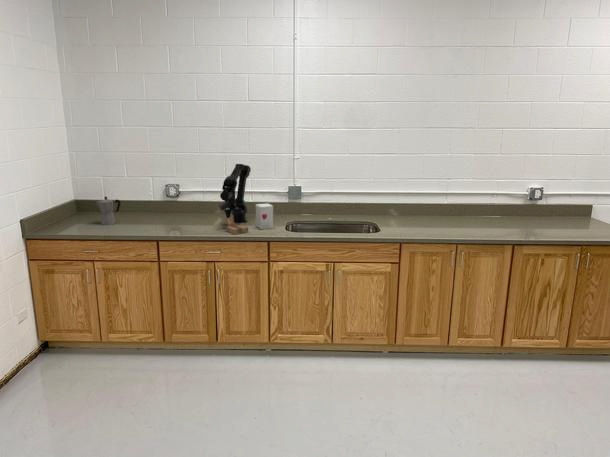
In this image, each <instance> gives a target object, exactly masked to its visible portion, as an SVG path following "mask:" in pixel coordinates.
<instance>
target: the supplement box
mask: <svg viewBox="0 0 610 457" xmlns="http://www.w3.org/2000/svg"><path fill="white" fill-rule="evenodd" d="M255 227H256V228H258V229H259V230H268V229H274V205H272V204H270V203H257V204H255Z"/></svg>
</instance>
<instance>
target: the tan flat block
mask: <svg viewBox="0 0 610 457" xmlns="http://www.w3.org/2000/svg"><path fill="white" fill-rule="evenodd" d="M225 228H226V231H225V232H227V233H230V234H232V235H240V234H247V233H249V227H247V226H246V225H243V224H236V225H234V226H228V225H227V226H226V227H225Z"/></svg>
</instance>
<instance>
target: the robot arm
mask: <svg viewBox="0 0 610 457" xmlns="http://www.w3.org/2000/svg"><path fill="white" fill-rule="evenodd" d="M250 174H251V166H250V165H246V164H243V163H236V164H235V166H234V169H232V172H231V173H230V175H228V176H226V178H225V179H224V180H223V185H222V188H221V190H222V192H220V195H219V198H220V199H221V200H222V201H224V202H221V203H219V204H218V205H217V207H218V209H219V211H221V212H222V211H223V212H224V214H225V217H226V220H227V221H228V218H229V217H231V215H232V217H233V219H234V223H235V224H236V223H239V224H240V223H244V222H245V223H247V219H246V214H248V208H247V205H246V201H245V199H244V198H245V192H246V185H247V179H248V178H249V176H250ZM237 185H238V186H237ZM236 188H237V193H236Z"/></svg>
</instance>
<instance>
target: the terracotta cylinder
mask: <svg viewBox="0 0 610 457" xmlns="http://www.w3.org/2000/svg"><path fill="white" fill-rule="evenodd" d="M234 225H237V224H236V223H234V219H233V216H230V217H229V218H228V220H227V226H234Z"/></svg>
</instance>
